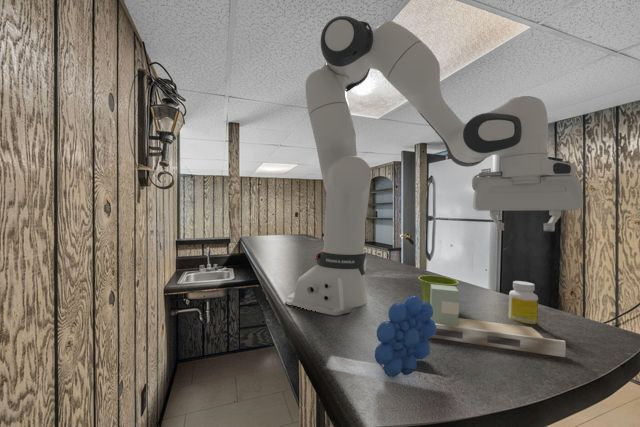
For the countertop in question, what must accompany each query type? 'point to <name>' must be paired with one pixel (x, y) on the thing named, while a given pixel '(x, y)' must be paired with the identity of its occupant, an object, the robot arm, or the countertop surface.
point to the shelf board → (500, 336)
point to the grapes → (405, 336)
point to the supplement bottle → (523, 303)
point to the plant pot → (436, 280)
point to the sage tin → (444, 304)
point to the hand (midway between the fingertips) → (523, 230)
